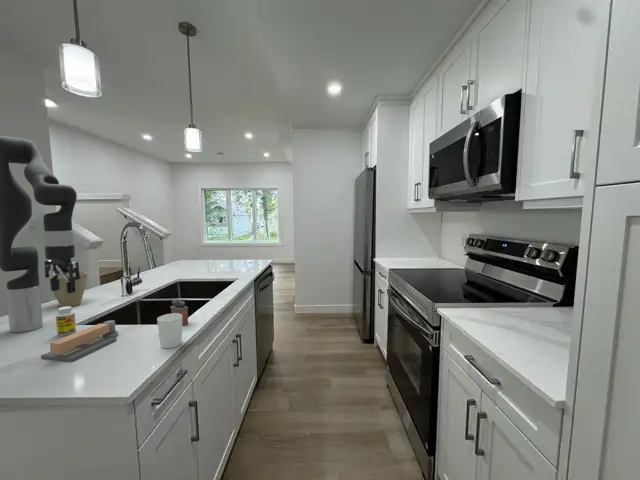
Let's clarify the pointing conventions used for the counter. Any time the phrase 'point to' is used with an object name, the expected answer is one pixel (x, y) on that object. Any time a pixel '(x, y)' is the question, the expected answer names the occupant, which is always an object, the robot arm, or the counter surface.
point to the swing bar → (82, 337)
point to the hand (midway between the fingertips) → (63, 291)
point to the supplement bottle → (65, 321)
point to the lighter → (180, 311)
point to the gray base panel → (82, 348)
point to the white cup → (170, 330)
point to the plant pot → (71, 298)
